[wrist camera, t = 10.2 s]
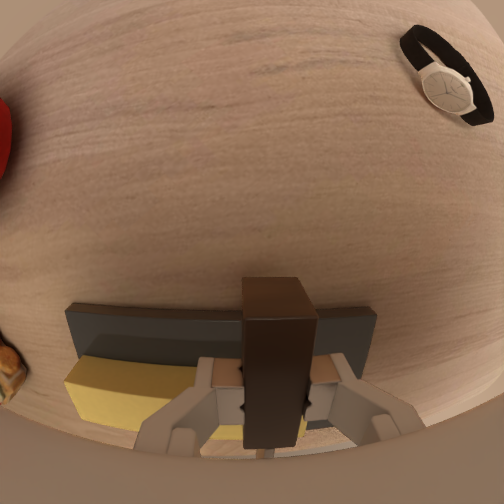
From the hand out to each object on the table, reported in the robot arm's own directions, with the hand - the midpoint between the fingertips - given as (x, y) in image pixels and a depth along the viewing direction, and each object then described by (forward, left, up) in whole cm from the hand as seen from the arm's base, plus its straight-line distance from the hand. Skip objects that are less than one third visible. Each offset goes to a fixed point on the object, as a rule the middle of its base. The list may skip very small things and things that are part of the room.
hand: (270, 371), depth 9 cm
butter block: (+6, +6, -6) cm, 10 cm away
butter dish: (+2, +6, -7) cm, 9 cm away
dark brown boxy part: (0, +3, -2) cm, 3 cm away
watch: (-12, -14, -7) cm, 19 cm away
